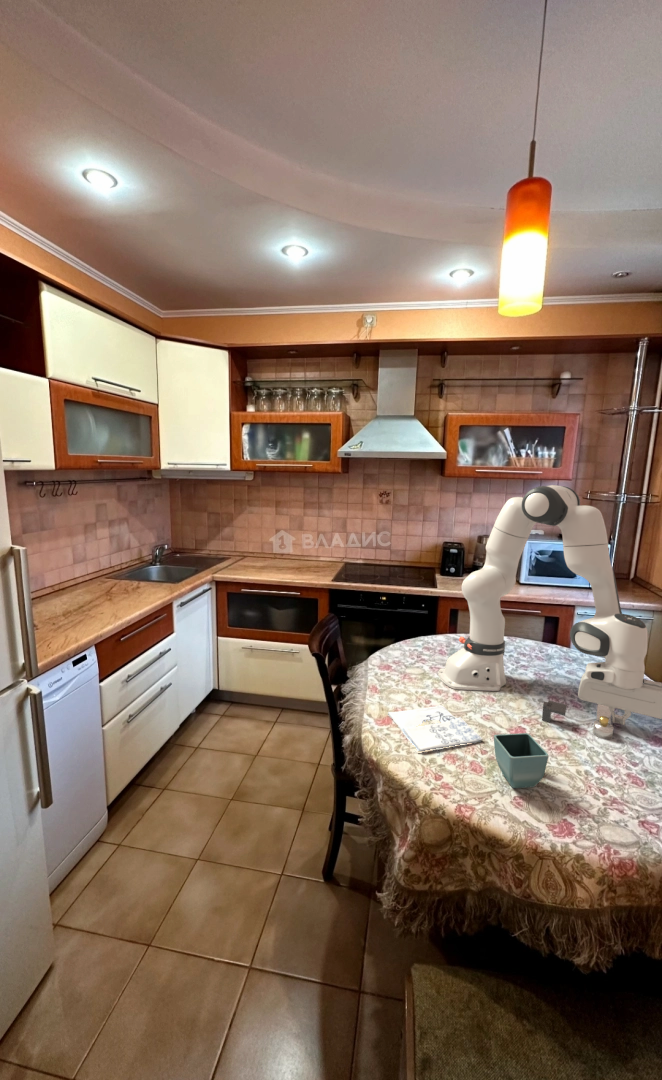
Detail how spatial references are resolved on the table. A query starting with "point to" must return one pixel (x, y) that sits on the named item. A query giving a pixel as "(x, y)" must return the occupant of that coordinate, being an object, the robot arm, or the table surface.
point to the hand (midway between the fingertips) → (618, 722)
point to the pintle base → (562, 712)
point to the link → (603, 730)
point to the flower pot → (520, 759)
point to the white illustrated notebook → (434, 728)
